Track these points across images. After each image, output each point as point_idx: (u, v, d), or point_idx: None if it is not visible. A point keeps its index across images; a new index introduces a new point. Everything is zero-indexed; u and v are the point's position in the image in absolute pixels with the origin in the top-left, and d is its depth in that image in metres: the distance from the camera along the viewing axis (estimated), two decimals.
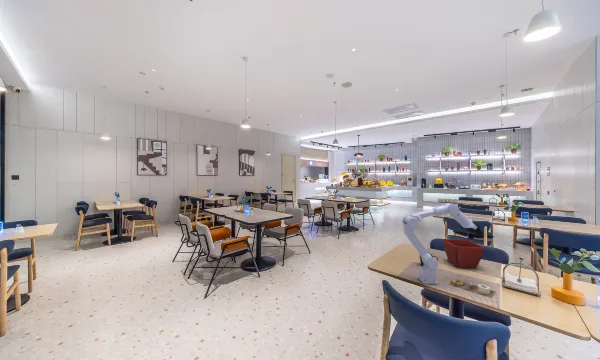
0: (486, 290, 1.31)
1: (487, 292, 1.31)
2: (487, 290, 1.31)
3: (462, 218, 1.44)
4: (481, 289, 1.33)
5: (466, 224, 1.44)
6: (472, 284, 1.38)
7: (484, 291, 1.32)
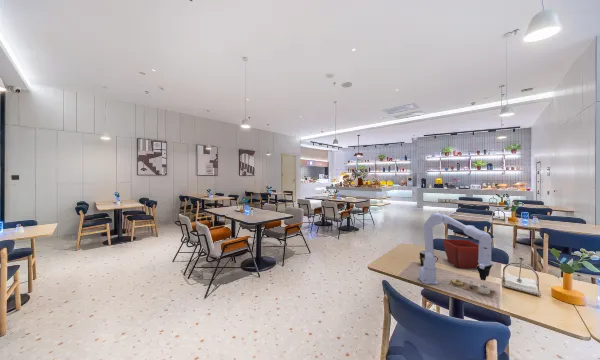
0: (486, 290, 1.31)
1: (487, 292, 1.31)
2: (487, 290, 1.31)
3: (484, 253, 1.31)
4: (481, 289, 1.33)
5: (481, 260, 1.32)
6: (472, 284, 1.38)
7: (484, 291, 1.32)
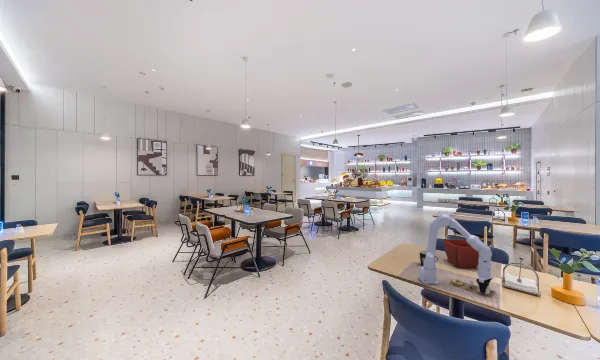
0: (486, 290, 1.31)
1: (487, 292, 1.31)
2: (487, 290, 1.31)
3: (484, 267, 1.31)
4: None
5: (480, 274, 1.33)
6: (472, 284, 1.38)
7: None
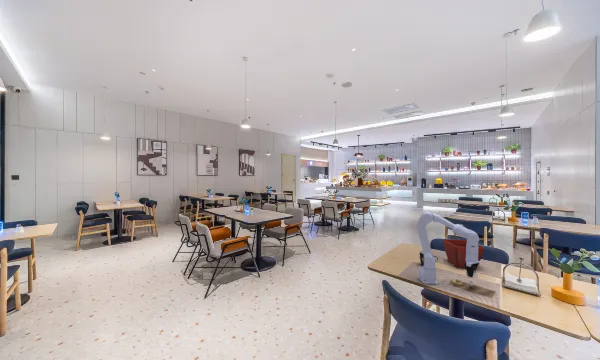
0: (473, 274, 1.35)
1: (475, 276, 1.35)
2: (474, 274, 1.35)
3: (472, 252, 1.35)
4: None
5: (468, 258, 1.37)
6: (472, 284, 1.38)
7: None
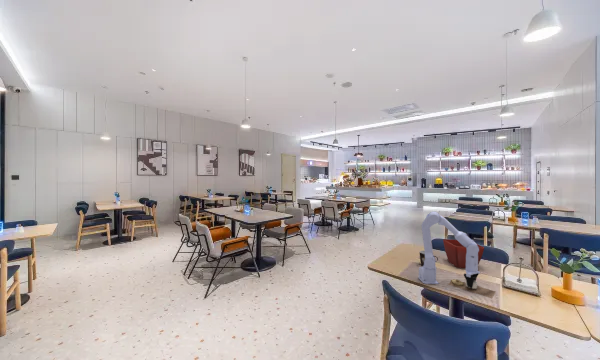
0: (473, 284, 1.36)
1: (474, 287, 1.36)
2: (474, 284, 1.36)
3: (472, 262, 1.36)
4: None
5: (468, 268, 1.37)
6: None
7: None
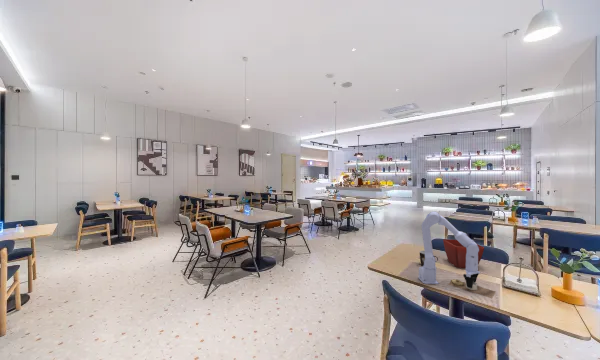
0: (473, 286, 1.36)
1: (474, 288, 1.36)
2: (474, 286, 1.36)
3: (472, 262, 1.36)
4: None
5: (468, 268, 1.37)
6: None
7: None
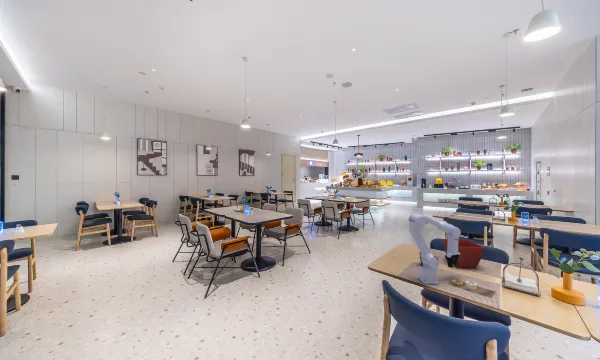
0: (473, 286, 1.36)
1: (474, 288, 1.36)
2: (474, 286, 1.36)
3: (455, 244, 1.47)
4: (468, 285, 1.37)
5: (449, 250, 1.49)
6: None
7: (471, 287, 1.36)
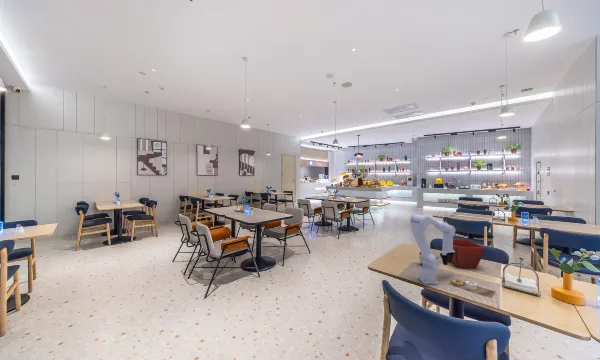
0: (473, 286, 1.36)
1: (474, 288, 1.36)
2: (474, 286, 1.36)
3: (451, 242, 1.51)
4: (468, 285, 1.37)
5: (444, 248, 1.53)
6: None
7: (471, 287, 1.36)
